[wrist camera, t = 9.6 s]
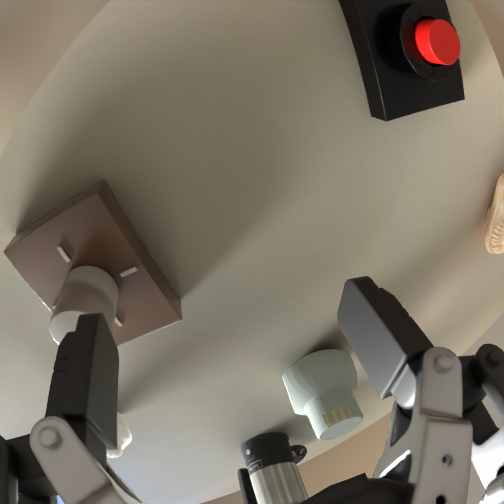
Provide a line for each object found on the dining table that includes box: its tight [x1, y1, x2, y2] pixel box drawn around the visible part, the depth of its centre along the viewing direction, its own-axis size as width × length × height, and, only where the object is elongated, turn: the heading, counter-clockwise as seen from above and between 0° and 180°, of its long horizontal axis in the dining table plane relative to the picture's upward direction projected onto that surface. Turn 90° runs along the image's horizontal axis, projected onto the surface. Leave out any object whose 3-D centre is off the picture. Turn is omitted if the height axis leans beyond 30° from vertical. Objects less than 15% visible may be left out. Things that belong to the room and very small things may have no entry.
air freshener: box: [282, 349, 363, 440], centre depth 35 cm, size 11×8×10 cm
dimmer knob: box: [49, 266, 119, 345], centre depth 20 cm, size 5×5×5 cm
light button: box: [413, 19, 460, 65], centre depth 16 cm, size 4×4×2 cm
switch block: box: [339, 0, 465, 121], centre depth 18 cm, size 12×10×4 cm
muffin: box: [107, 411, 132, 458], centre depth 33 cm, size 6×6×7 cm
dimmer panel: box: [4, 180, 182, 346], centre depth 23 cm, size 13×10×3 cm
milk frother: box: [238, 433, 309, 504], centre depth 46 cm, size 14×16×15 cm
